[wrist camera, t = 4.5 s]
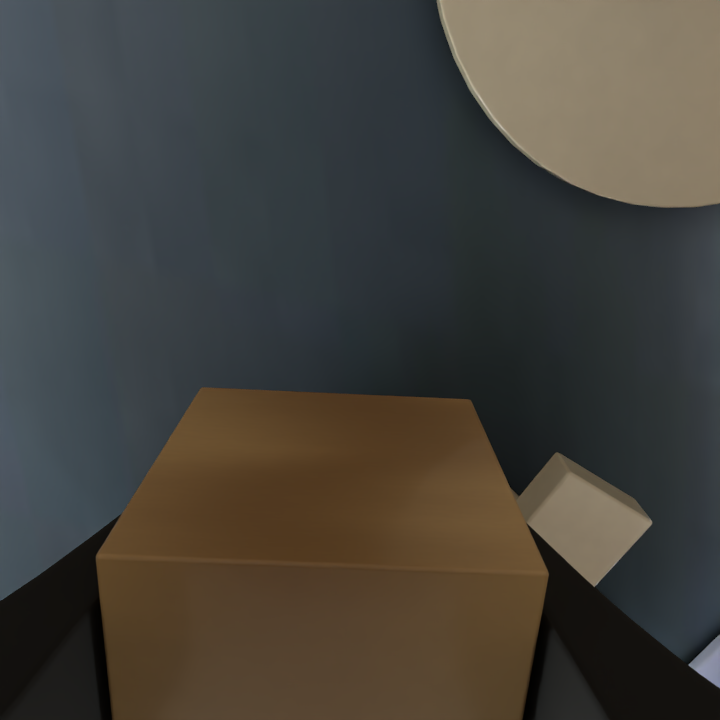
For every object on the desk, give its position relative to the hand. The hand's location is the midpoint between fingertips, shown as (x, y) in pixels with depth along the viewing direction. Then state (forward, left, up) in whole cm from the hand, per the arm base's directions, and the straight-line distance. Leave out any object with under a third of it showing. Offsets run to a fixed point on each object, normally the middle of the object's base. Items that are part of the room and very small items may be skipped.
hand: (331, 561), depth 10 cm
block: (0, 0, -1) cm, 1 cm away
